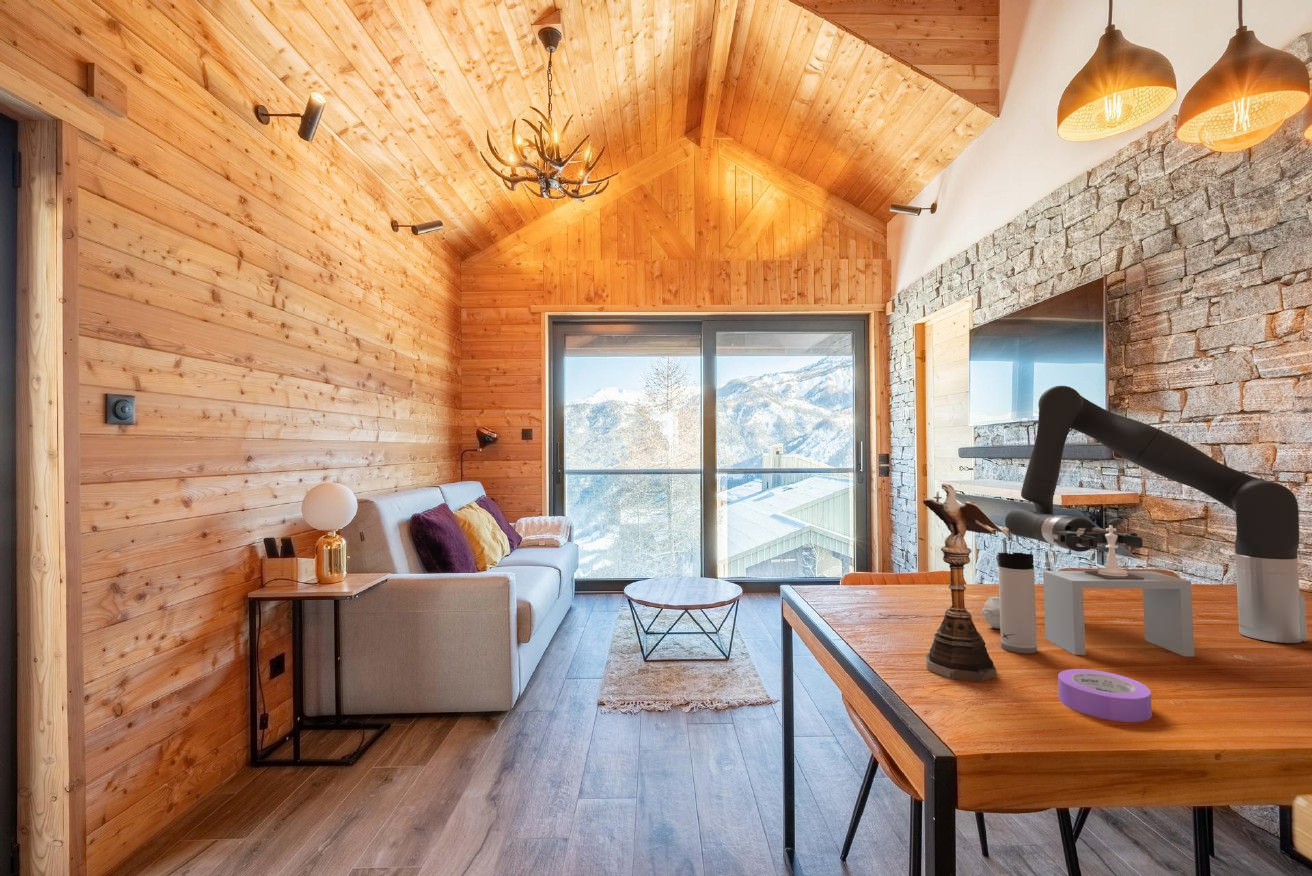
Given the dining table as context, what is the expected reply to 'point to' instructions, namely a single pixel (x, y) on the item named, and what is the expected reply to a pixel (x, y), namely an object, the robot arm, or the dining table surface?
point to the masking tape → (1105, 695)
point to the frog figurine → (992, 612)
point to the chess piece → (1112, 556)
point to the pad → (1113, 576)
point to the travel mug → (1017, 602)
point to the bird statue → (960, 595)
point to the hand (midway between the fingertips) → (1117, 542)
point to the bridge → (1161, 593)
